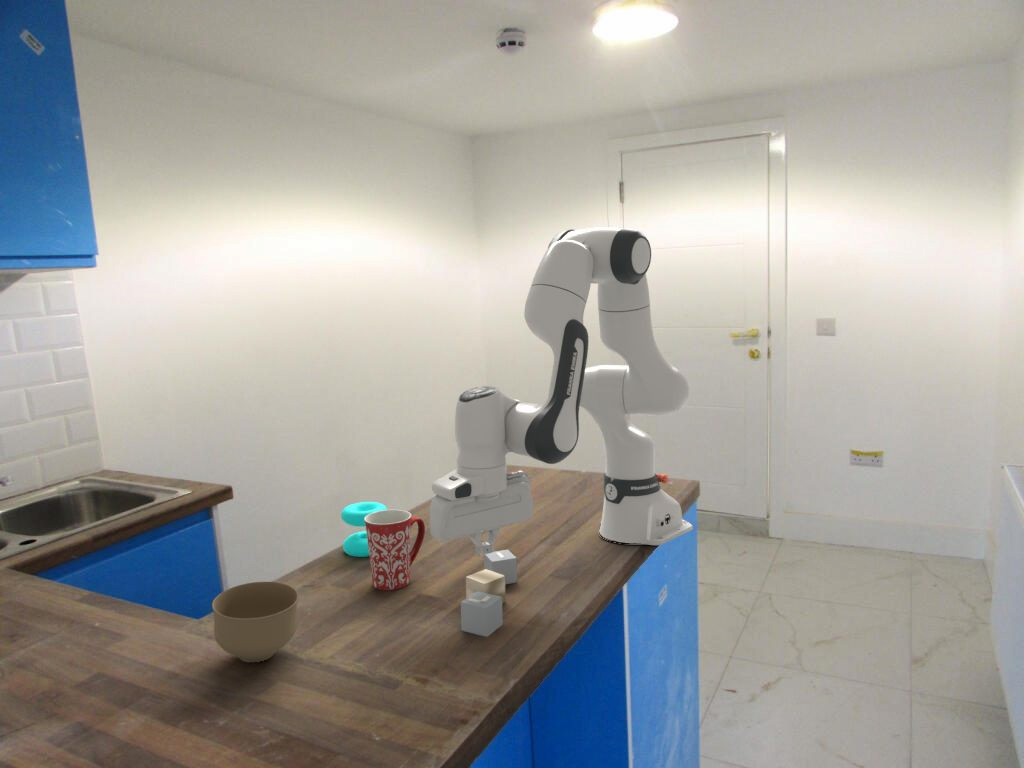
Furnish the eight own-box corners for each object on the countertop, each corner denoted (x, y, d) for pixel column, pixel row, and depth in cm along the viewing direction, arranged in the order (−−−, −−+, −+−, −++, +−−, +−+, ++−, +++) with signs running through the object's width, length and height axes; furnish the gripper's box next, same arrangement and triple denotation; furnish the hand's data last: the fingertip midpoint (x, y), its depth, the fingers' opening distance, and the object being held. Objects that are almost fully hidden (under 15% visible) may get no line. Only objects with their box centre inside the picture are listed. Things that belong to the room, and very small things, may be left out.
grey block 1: (477, 619, 125) (476, 590, 124) (502, 625, 122) (502, 596, 121) (461, 630, 120) (460, 601, 120) (487, 637, 118) (486, 607, 117)
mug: (382, 596, 134) (379, 526, 133) (359, 583, 141) (355, 516, 140) (438, 578, 143) (436, 512, 141) (413, 566, 149) (410, 502, 148)
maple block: (486, 594, 135) (485, 568, 134) (505, 602, 131) (504, 575, 130) (466, 603, 131) (465, 576, 130) (485, 611, 128) (484, 584, 127)
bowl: (253, 686, 104) (248, 621, 103) (198, 664, 111) (193, 602, 110) (318, 649, 115) (315, 589, 114) (265, 631, 122) (261, 574, 120)
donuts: (395, 502, 161) (371, 515, 152) (397, 545, 162) (373, 561, 153) (357, 498, 165) (331, 511, 155) (360, 541, 166) (333, 555, 157)
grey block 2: (508, 573, 145) (507, 549, 144) (517, 582, 140) (516, 557, 139) (484, 577, 143) (483, 552, 142) (492, 586, 138) (492, 561, 138)
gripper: (519, 465, 137) (521, 535, 139) (423, 485, 125) (427, 561, 127) (539, 472, 132) (541, 544, 134) (441, 493, 120) (444, 572, 122)
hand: (484, 553), depth 130 cm, fingers closed
